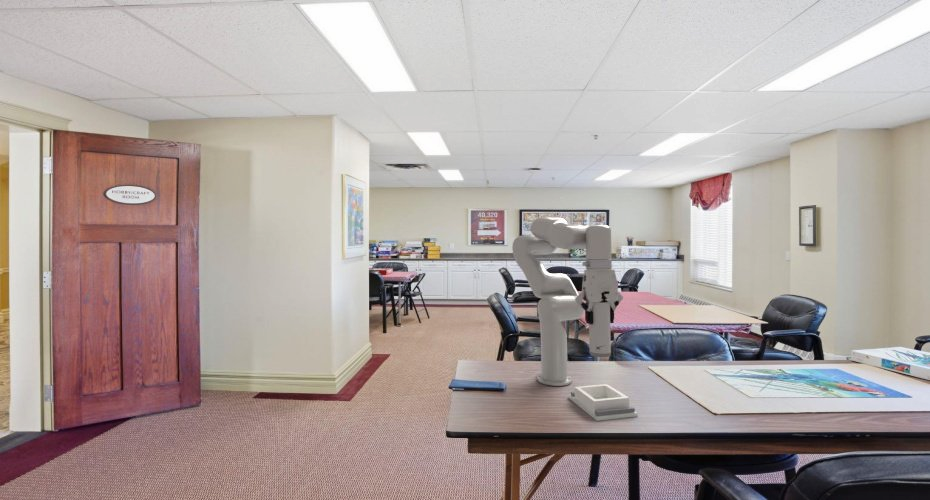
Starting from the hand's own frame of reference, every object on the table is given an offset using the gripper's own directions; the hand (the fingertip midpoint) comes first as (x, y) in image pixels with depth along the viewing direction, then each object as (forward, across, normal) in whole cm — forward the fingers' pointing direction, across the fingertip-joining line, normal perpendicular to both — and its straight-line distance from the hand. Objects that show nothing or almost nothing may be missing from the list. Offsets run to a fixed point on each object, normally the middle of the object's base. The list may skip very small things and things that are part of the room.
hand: (599, 322), depth 125 cm
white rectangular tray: (+26, 0, 0) cm, 26 cm away
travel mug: (+10, 0, 0) cm, 10 cm away
